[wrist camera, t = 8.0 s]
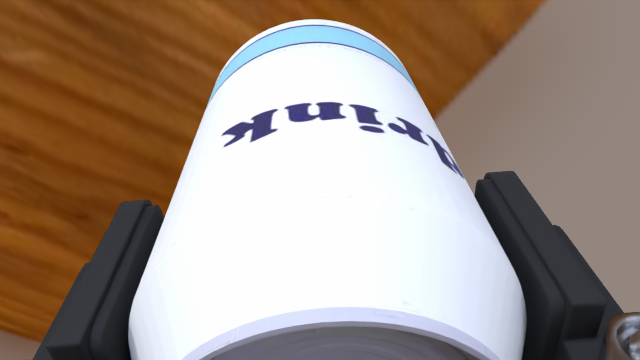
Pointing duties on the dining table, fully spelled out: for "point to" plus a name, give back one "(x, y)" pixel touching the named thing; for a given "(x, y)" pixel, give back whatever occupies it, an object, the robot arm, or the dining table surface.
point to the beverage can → (323, 220)
